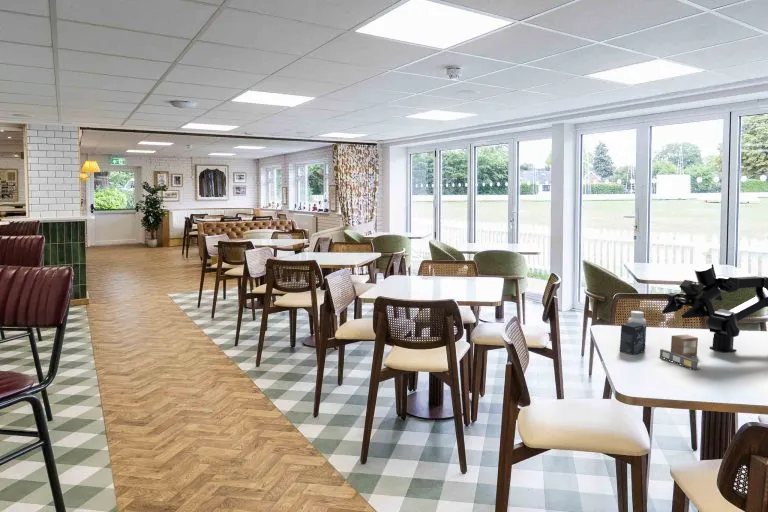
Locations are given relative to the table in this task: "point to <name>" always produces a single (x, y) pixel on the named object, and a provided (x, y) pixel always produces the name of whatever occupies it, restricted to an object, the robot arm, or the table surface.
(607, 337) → the table surface
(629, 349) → the box
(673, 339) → the tea box
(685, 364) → the rail
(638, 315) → the supplement bottle
